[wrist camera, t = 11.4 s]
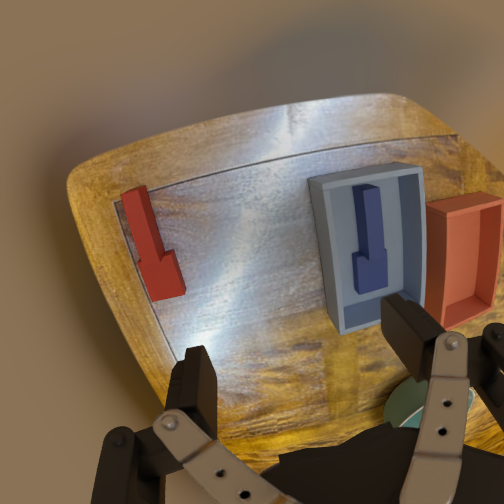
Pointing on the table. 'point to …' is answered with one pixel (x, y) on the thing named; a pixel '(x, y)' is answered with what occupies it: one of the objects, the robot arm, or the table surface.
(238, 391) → the table surface
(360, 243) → the blue bar
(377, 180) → the blue bin
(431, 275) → the red bin
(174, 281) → the red stepped block
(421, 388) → the bowl
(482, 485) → the robot arm
